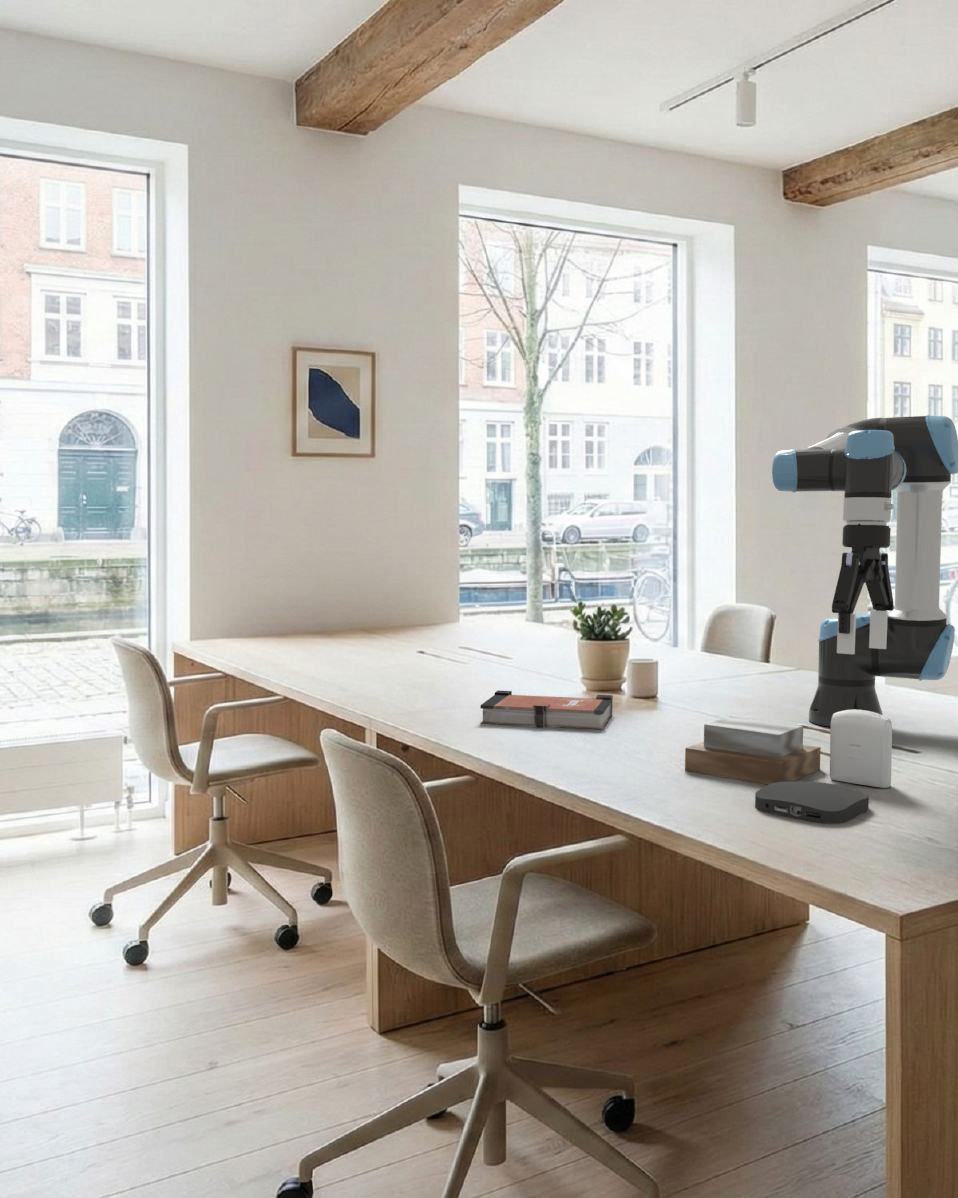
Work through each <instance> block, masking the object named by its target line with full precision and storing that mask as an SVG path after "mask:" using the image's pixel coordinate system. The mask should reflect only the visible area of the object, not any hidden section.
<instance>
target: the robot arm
mask: <svg viewBox="0 0 958 1198" xmlns="http://www.w3.org/2000/svg"><path fill="white" fill-rule="evenodd" d="M771 466H772V467H771V471H772V472H771V475H772V476H771V477H772V483H773V485H774V488H775V489H776V490H777V491H779V492H791V493H796V492H800V493H801V492H844V496H843V508H842V509H843V511H842V512H843V513H842V521H843V522H846V524H845V525H844V526H843V527H842V543H841V544H842V546H843V547H844V548H851V551H850V552H843V553H842V554H841V566H840V569H839V573H838V574H839V575H838V579H837V582H836V585H835V591H834V594H833V600H832V604H831V613H833V614H837V616H834V617H829V618H825V619H823V621H821V623H820V627H819V638H818V640H817V641H818V670H817V671H818V674H817V675H818V676H817V677H818V679H817V680H818V681H817V688H816V691H815V694H814V696H813V699H812V702H811V704H810V707H809V709H808V721H809V722H810V723H813V724H815V725H819V726H823V727H828V728H829V727H830V728H831V719H832V716H833V714H834V713H837V712H840V711H844V710H866V711H871V712H875V713H878V714H880V715H883V710H882V708H881V704H880V700H879V698H878V695H877V691H876V677H882V678H896V679H897V678H898V679H909V680H918V681H939V680H941V679H943V678H944V677H945V675H946V673H947V672H948V669H949V666H950V662H951V658H952V653H953V648H954V643H955V642H954V641H955V632H956V629H955V628H956V627H955V626H954V625H952V624H951V623H948V624H947V619H948V616H947V614H946V613H945V612H944V611H943V610H942V609H941V608H940V589H941V588H940V587H941V586H940V585H941V584H940V583H941V550H942V549H941V548H942V547H941V546H942V544H941V543H942V516H943V515H942V512H943V510H942V508H943V492H944V489H946V488H947V487H948V486H949V485H950V484H951V481H952V480H951V478H952V475H955V474H958V432H957V429H956V426H955V423H954V421H953V420H952V419H951V418H950V417H948V416H943V415H929V414H928V415H927V414H926V415H916V416H895V417H874V418H873V417H872V418H867V419H862V420H859V421H856V422H853V423H849V424H847V425H845V426H841V427H839V428H836V429H834V430H833V431H831V432H830V433H829V434H827V436H826V438H825V439H824V440H822V441H820V442H817V443H815V444H813V445H810V446H808V447H806V448H803V449H794V448H791V449H784V450H779V451H777V452H776V453H775V455H774V457H773V460H772V465H771ZM894 490H896V495H897V496H896V499H897V500H896V539H895V540H896V541H895V576H894V577H895V580H894V582H895V584H894V586H895V587H894V597H893V591H892V584H891V577H890V570H889V555H888V553H887V552H880V551H881V550H880V549H887V548H889V547H890V545H891V527H890V525H887V524H888V523H890V522H891V521H892V520H891V518H892V515H891V513H892V510H894V508H895V506H894V504H893V503H892V498H893V497H892V493H893V491H894ZM864 584H865V586H866V589H867V592H868V595H869V596H868V597H869V598H870V602H871V606H872V610H871V609H870V611H869V612H870V613H861V614H856V613H854V611H855V608H856V606H857V603H858V602H859V601H858V600H859V598H860V595H861V592H862V590H863V587H864ZM883 716H884V715H883Z"/></svg>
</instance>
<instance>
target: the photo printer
mask: <svg viewBox="0 0 958 1198" xmlns="http://www.w3.org/2000/svg"><path fill="white" fill-rule="evenodd" d="M829 730H830V734H829V738H830V739H829V741H830V742H829V743H830V744H829V778H830V780H831V781H838V782H842V783H843V782H844V783H849V784H850V783H851V784H855V785H856V784H857V785H861V786H863V785H864V786H867V787H874V788H880V789H887V788H890V787H891V785H892V757H893V755H892V753H893V749H892V748H893V725H892V720H891V719H890V718H889V717H887V716H885V715H880V714H878V713H875V712H871V711H866V710H844V711H840V712H837V713H834V714H833V716H832V719H831V727H830V729H829Z"/></svg>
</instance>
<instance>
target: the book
mask: <svg viewBox="0 0 958 1198" xmlns="http://www.w3.org/2000/svg"><path fill="white" fill-rule="evenodd" d="M512 692H513V691H512V690H500V689H499V690H495V692H494V694H493V695H492V696H491V697H489V698H488V699H487V700H485V701H484V702H483V703H482V704H480V708H479V709H482V721H481V722H480V725H492V726H493V725H494V726H495V725H497V726H514V727H516V726H517V727H536V728H553V729H554V728H556V729H576V730H577V729H578V730H594V731H595V730H598V731H603V730H604V729H605V727H606V726H607V725H608V723H609V721H610V720H611V718H612V717H613V702H614V701H613V697H614V696H613V695H611V694H597V695H596V697H595V698H593V697H592V698H591V697H589V698H588V697H573V696H571V697H569V696H568V697H567V696H548V695H547V696H546V695H545V696H543V695H527V694H526V695H525V694H524V695H522V694H513V693H512Z"/></svg>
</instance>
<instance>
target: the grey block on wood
mask: <svg viewBox="0 0 958 1198" xmlns="http://www.w3.org/2000/svg"><path fill="white" fill-rule="evenodd" d="M821 749H822V747H821V746H815V745H809V744H804V725H799V724H798V725H797V724H793V723H785V722H784V723H783V722H777V721H771V720H770V721H769V720H762V719H756V718H755V719H754V718H746V717H739V716H732V715H730V716H727V717H724V718H723V717H722V718H720V719H717V720H715V721H711V722H708V723H705V724H704V725H703V741H702V742H699V743H696V744H693V745H689V746H688V747H685V751H684V752H685V753H684V771H687V772H692V773H698V774H704V775H711V776H716V777H722V778H727V779H734V780H739V781H746V782H752V783H756V784H763V785H769V784H772V783H776V782H796V781H797V780H799V779H802V778H803V777H806V776H808V775H810V774H813V773H815V772H818V771H819V770H821Z"/></svg>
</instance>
